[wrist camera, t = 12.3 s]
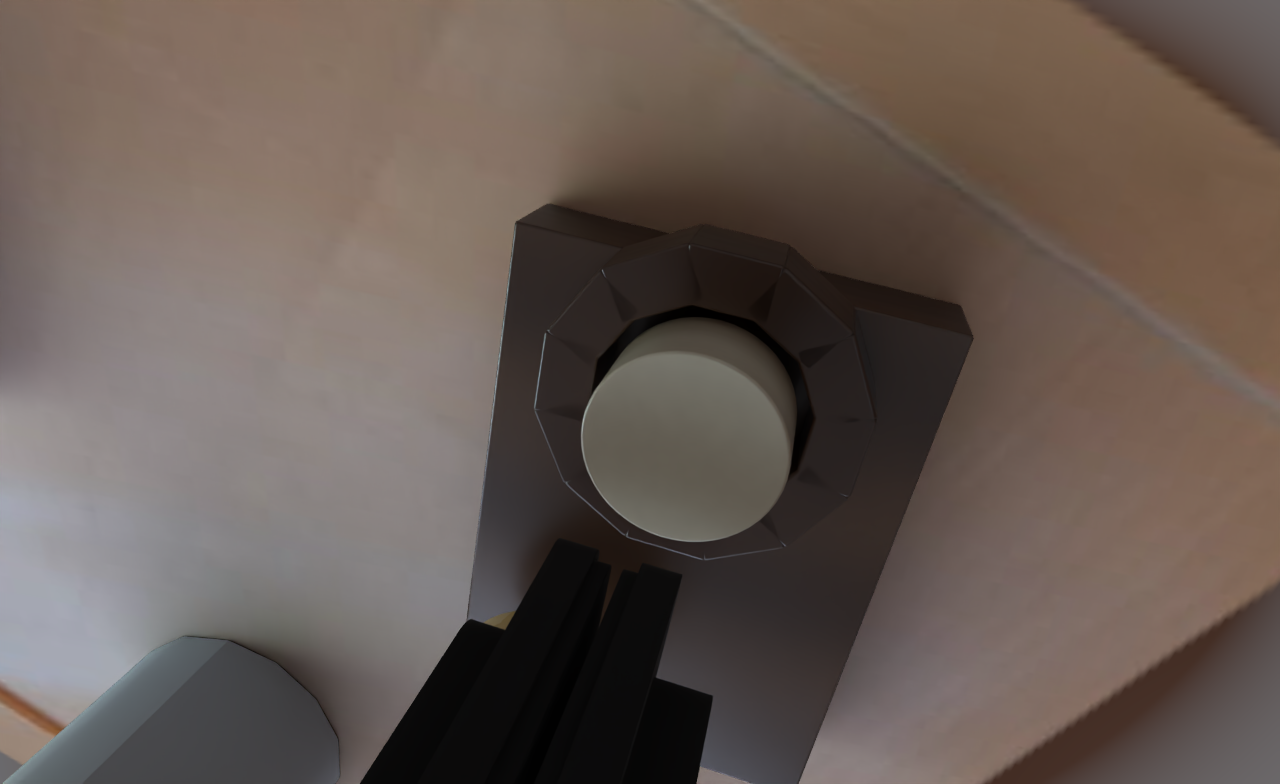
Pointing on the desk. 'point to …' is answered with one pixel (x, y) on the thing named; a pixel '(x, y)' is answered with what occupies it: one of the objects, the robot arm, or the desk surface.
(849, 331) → the lamp base
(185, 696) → the cup
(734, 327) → the switch
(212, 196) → the desk surface
